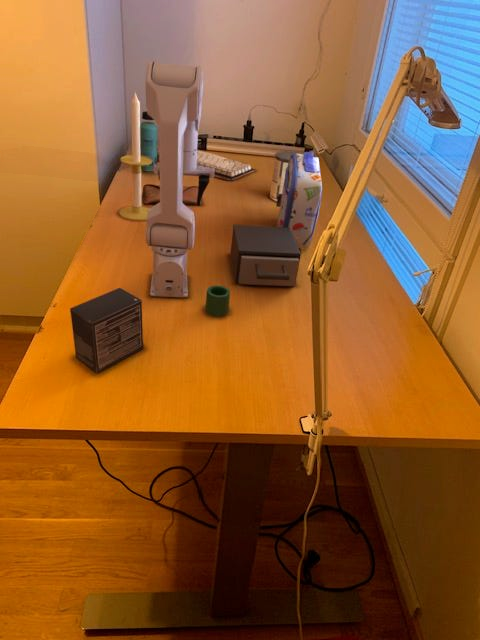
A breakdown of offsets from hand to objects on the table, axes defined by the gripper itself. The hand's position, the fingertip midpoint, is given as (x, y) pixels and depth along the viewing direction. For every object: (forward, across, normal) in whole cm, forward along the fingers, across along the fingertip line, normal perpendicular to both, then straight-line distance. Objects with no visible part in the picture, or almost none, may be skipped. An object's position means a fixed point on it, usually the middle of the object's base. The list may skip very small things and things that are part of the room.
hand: (183, 203), depth 124 cm
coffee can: (+10, -34, -37) cm, 51 cm away
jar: (+10, -7, +34) cm, 36 cm away
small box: (+10, +13, +49) cm, 52 cm away
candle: (+10, +13, -16) cm, 23 cm away
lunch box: (+10, -31, -7) cm, 34 cm away
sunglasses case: (+10, +2, -28) cm, 30 cm away
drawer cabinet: (+10, -19, +15) cm, 27 cm away
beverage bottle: (+10, +11, -54) cm, 56 cm away
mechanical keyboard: (+10, -8, -68) cm, 69 cm away
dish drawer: (+9, -19, +20) cm, 29 cm away
